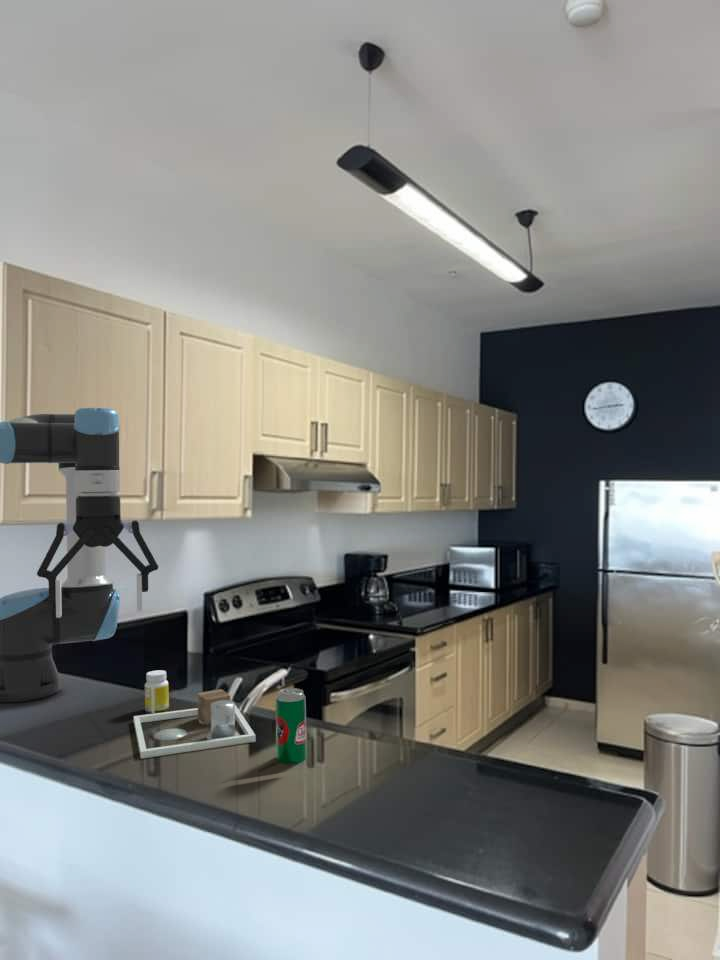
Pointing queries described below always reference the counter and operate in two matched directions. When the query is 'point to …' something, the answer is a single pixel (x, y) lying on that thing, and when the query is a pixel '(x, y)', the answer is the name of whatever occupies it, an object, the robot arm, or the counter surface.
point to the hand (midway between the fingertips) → (100, 613)
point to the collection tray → (178, 733)
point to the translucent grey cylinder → (222, 719)
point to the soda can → (291, 726)
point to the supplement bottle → (156, 692)
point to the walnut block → (209, 703)
